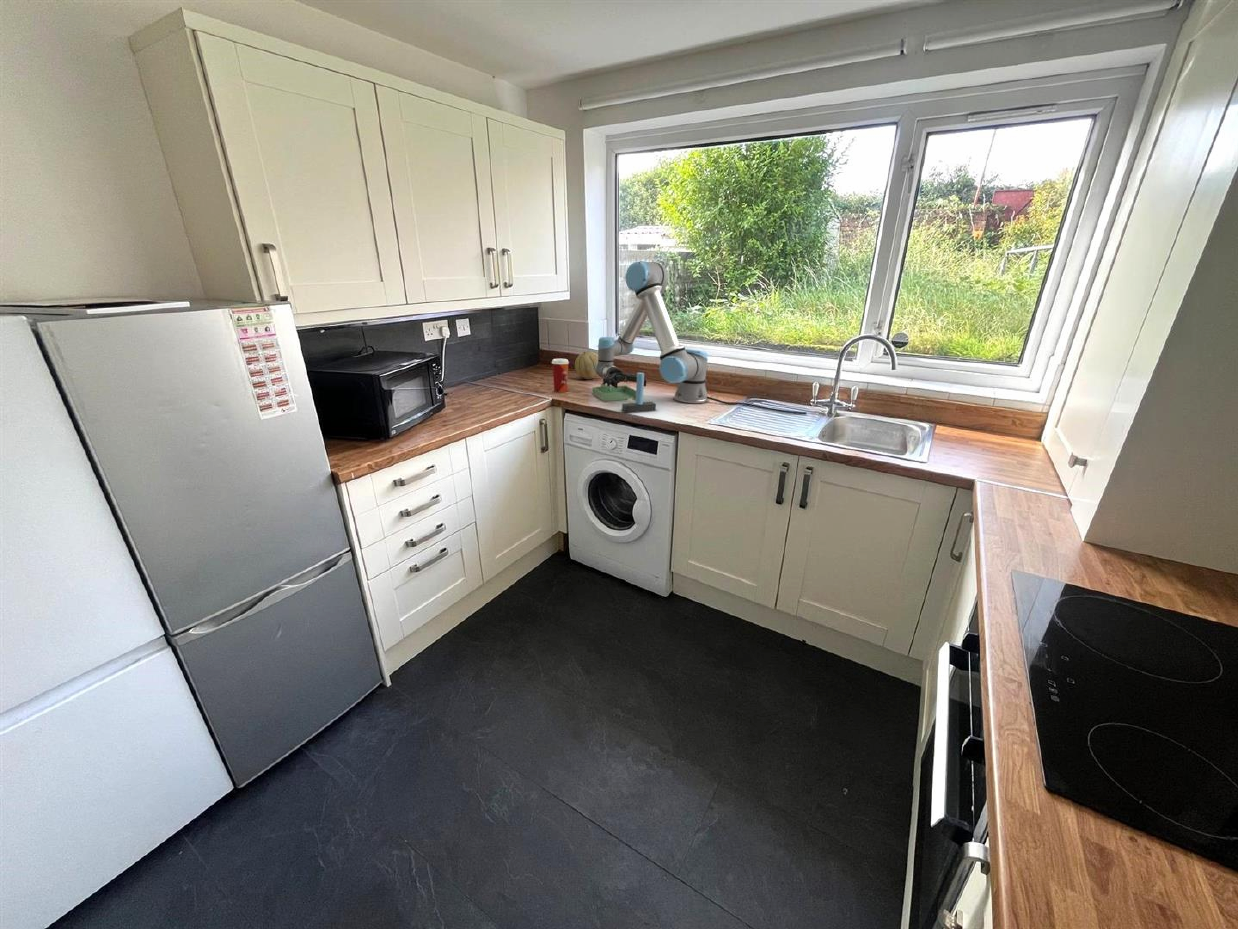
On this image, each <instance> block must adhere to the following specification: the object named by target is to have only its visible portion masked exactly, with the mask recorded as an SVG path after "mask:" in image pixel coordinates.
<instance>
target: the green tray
mask: <svg viewBox="0 0 1238 929" xmlns="http://www.w3.org/2000/svg"><path fill="white" fill-rule="evenodd" d="M592 395H594V396H595V397H596V398H598V399H600V401H603V402H614V401H615V402H616V401H627V400H628V399H629V398H632V399H633V400H636V389H634V388H633V387H630V386H628V385H626V384H625V385H618V388H615V387H613V386H611V385H610V386H607V384H605V385H604V384H603V382H602V383H601V384H600V386H592Z"/></svg>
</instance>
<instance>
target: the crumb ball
mask: <svg viewBox="0 0 1238 929" xmlns="http://www.w3.org/2000/svg"><path fill="white" fill-rule="evenodd" d="M627 403H635V399H632V398H629V399H628V400H626V404H627Z"/></svg>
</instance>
